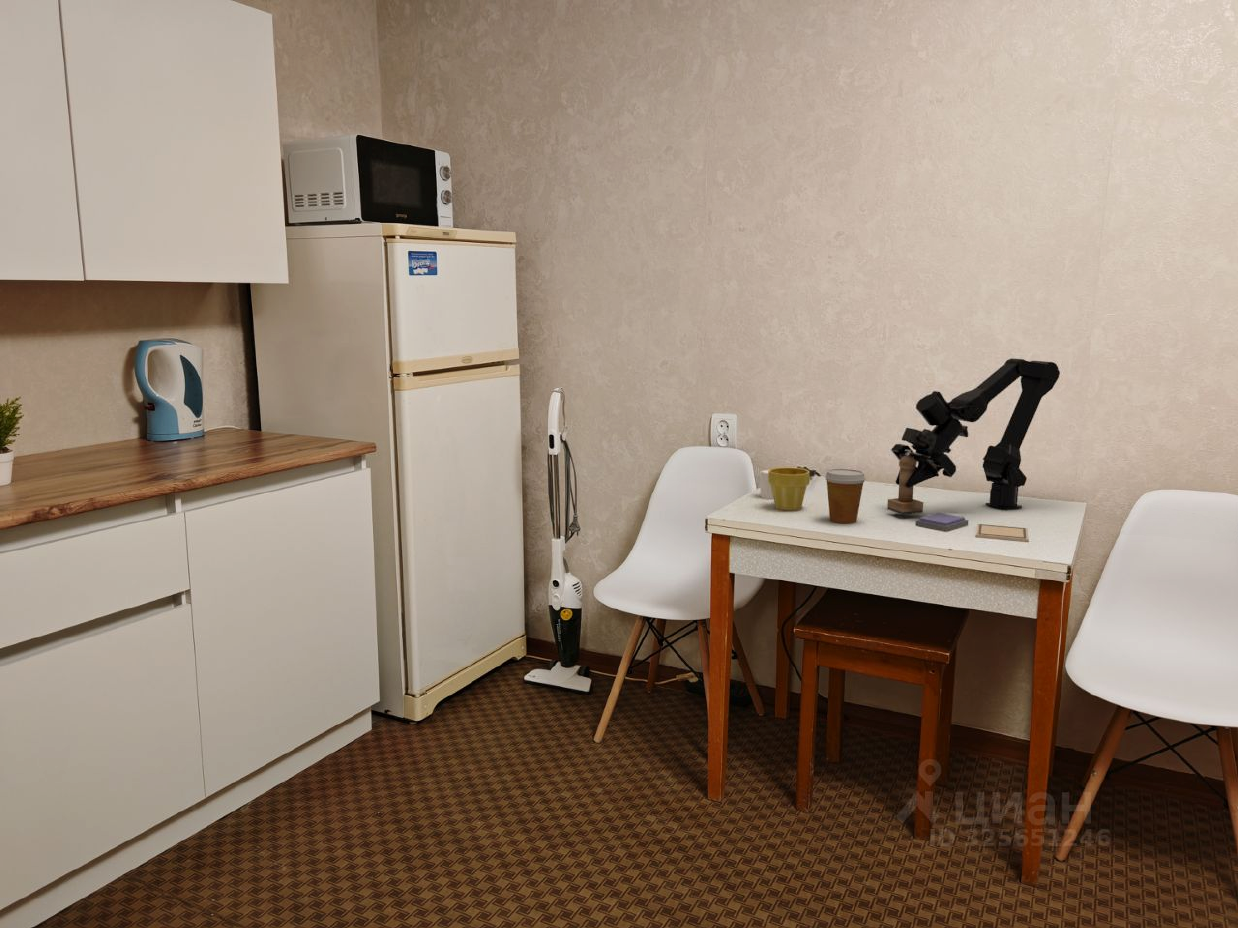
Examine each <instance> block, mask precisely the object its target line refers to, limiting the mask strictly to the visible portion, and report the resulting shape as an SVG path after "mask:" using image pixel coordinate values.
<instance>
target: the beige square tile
mask: <svg viewBox="0 0 1238 928" xmlns="http://www.w3.org/2000/svg"><path fill="white" fill-rule="evenodd" d="M975 538H981V539H982V538H983V539H994V540H1002V541H1003V540H1004V541H1015V542H1025V543H1029V540H1030V539H1029V538H1030V537H1029V529H1028V527H1027V528H1026V527H1019V526H1018V527H1017V526H1005V525H996V524H995V525H993V524H983V523H977V524H976V531H975Z"/></svg>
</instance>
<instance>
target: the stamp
mask: <svg viewBox="0 0 1238 928" xmlns="http://www.w3.org/2000/svg"><path fill="white" fill-rule="evenodd" d="M898 461H899V462H898V466H899V471H900V477H899V485H898V498H897V497H895V498H888V499H887V505H886V507H887V509H886V511H887V510H888V511H891V512H893V513H897V514H900V515H902V516H903V515H912V514H922V513H924V501H920V500H917V499H914V486H911V487H909V488H907V487H906V486H905V484H906V482H907V481H908V479H909V478H910V477H911V475H912V474H913V472H914V468H915V466H916V465H917V464H916V461H915V459H914V458H913V457H912V456H909V455H906V456H903V457H902V458H901V459H900V460H898ZM916 467H917V466H916Z"/></svg>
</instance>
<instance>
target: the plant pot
mask: <svg viewBox="0 0 1238 928" xmlns="http://www.w3.org/2000/svg"><path fill="white" fill-rule="evenodd" d="M768 470H769V472H768V480H769V484H771V488H772V493H773V498H774V499H773V503H774V504H773V505H774V508H775V509H777V510H780V511H788V512H789V511H799V510H800V509H802V507H803V504H804V503H803V502H804V498H805V495H806V490H807V486H809V485H810V480H811V479H810V475H811V473H810V470H809V469H806V468H803V467H794V466H793V467H792V466H791V467H789V466H787V467H786V466H783V467H774V468H770V469H768Z"/></svg>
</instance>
